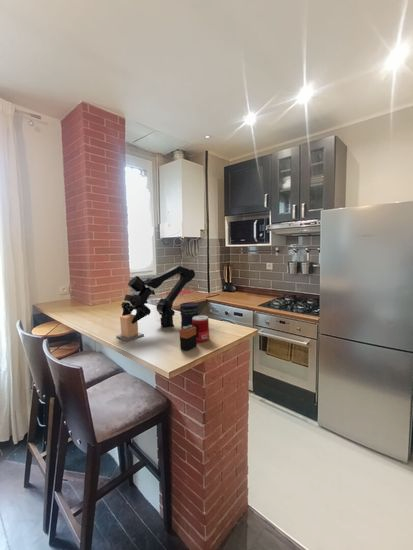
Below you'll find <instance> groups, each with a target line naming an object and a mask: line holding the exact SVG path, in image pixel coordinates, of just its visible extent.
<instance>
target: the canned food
mask: <svg viewBox="0 0 413 550" xmlns="http://www.w3.org/2000/svg"><path fill="white" fill-rule="evenodd" d="M198 315H199V314H198ZM209 323H210V322H209V316H207V315H203V314H201V315H199V316H194V317H193V318H192V325H193V326H194V327H196V340H197V343H205V342H208V341H209V339H210V326H209V325H210V324H209Z"/></svg>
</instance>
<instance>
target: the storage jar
mask: <svg viewBox="0 0 413 550" xmlns="http://www.w3.org/2000/svg"><path fill="white" fill-rule="evenodd" d="M179 306H180V308H179V310H180V311H179V312H180V319H181V321H180V329H182V328H183V327H185V326H188V325H192V318H193V317H194V316H199V313H200V308H199V302H195V301H189V302H187V301H186V302H183V303H180V304H179ZM192 326H193V325H192Z"/></svg>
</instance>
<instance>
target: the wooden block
mask: <svg viewBox="0 0 413 550" xmlns="http://www.w3.org/2000/svg"><path fill="white" fill-rule="evenodd" d="M135 315H136V314H133V313H131V314H128V315H124V316H122V315H121V316H119V319H120V331H121V332H120V334H121V335H122V336H125V337H128V338H129V337H132V336H135V335H138V332H139V323H138V321H137V322H135V323H134V324H132V323H131V322H132V320H133V318H134V316H135Z"/></svg>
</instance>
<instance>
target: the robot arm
mask: <svg viewBox="0 0 413 550" xmlns="http://www.w3.org/2000/svg"><path fill="white" fill-rule="evenodd" d="M177 274H178V275H179V280H178V281H177V282H176V284H175V285H174V286H173V287H172V289H170V292H169V293H168V294H167V296H166V297H165V298H159V301H158V302H156V311H157V312H158V314H159V316H161V317H160V318H159V319H160V326H161V327H162V328H167V327H169V328H170V327H174V326H175V325H174V318H173V316H175V313H176V312H175V310H173V305H174V301H175V300H176V299H177V297H178V296H179V294H180V293H181V292H182V290H183V289H184V287H185V286H186V285H187V284H188V283H190V282H191V281H193V279H195V277H196V273H195V270H194V269H191V268H186V267H183V266H181V265H175V266H173V267H171V268H170V269H168V270H166V271H164V272H161V273H159V274H158V275H153V276H150V277H148V278H146V280H142V278H140V277H139V276H138V275H136V276H135V277H133V278H131V279H130V280H129V281H128V283H127V286H128V287H129V288H131V289H132V290H133V291H134V292H136V293H138V294H135V293H134V294H133V295H131V294H125V296H124V300H123V302H122V303H121V304H120V306H121V308H122V314H121V316H124V315H128V314H133V313H132V312H133V311H134V310H135V312H136V313H135V314H134V315H135V316H134V318H133V320H132V322H131V323H132V324H134V323H135V322H137V323H138V321H140V320H142V319H143V318H145V317H147V316H149V315H150V314H151V309H150V308H149V307H148V306H147V305H146V304H148V299H150V296H156V292H155V289H158V288H160V287H161V286H162V285H163V283H164V282H165V281H167V280H169V279H171V278H172V277H174V276H176V275H177Z"/></svg>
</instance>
